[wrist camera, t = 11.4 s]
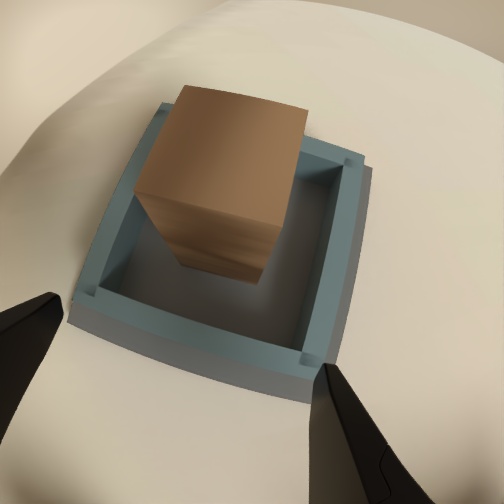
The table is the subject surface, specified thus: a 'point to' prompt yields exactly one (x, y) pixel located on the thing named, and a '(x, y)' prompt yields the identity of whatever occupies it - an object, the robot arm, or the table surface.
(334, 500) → the robot arm
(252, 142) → the brown wooden block
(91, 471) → the table surface
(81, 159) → the table surface
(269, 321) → the tray
